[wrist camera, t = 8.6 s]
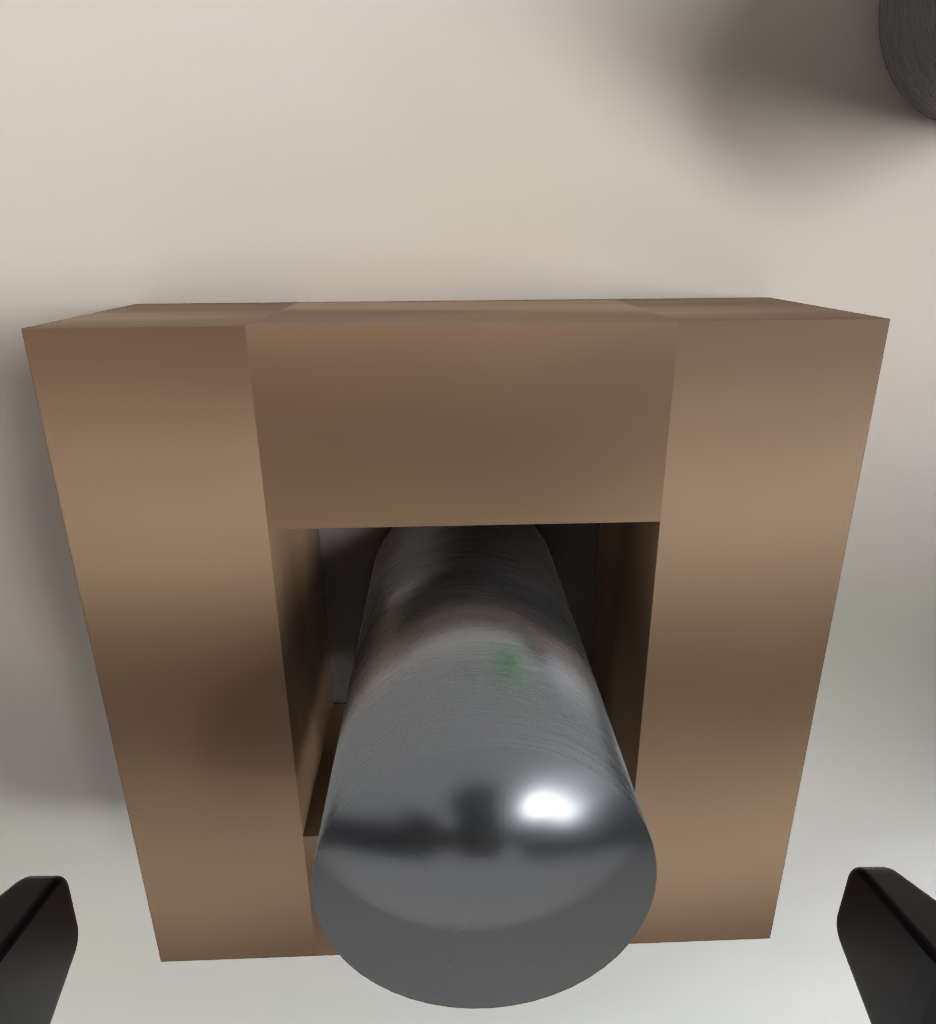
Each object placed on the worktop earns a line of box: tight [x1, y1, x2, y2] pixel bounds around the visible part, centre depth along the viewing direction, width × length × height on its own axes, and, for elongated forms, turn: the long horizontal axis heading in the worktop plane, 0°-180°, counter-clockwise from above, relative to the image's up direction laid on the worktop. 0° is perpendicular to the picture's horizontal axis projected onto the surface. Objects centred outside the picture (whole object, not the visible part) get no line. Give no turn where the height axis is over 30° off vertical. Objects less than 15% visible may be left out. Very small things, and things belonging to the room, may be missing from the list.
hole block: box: [22, 298, 890, 962], centre depth 14 cm, size 12×12×4 cm
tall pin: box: [311, 524, 657, 1008], centre depth 12 cm, size 4×4×8 cm
